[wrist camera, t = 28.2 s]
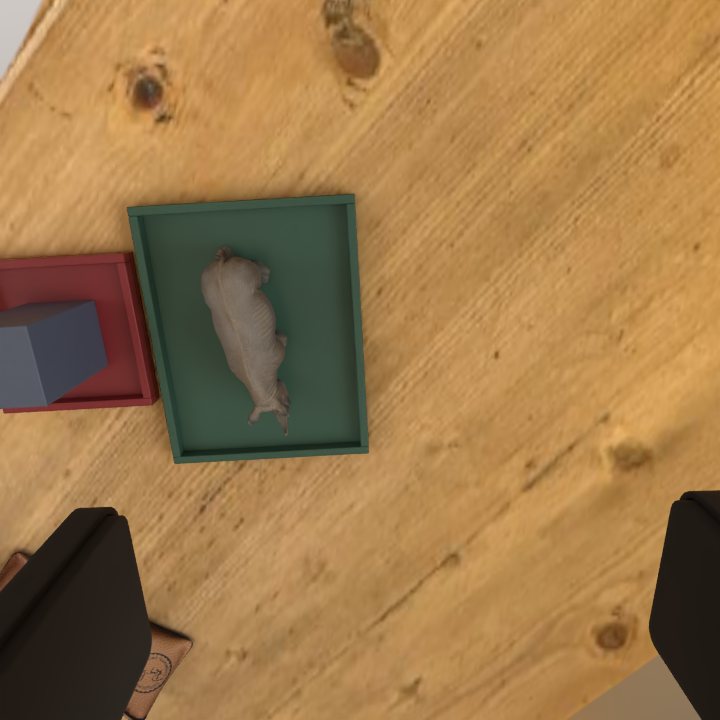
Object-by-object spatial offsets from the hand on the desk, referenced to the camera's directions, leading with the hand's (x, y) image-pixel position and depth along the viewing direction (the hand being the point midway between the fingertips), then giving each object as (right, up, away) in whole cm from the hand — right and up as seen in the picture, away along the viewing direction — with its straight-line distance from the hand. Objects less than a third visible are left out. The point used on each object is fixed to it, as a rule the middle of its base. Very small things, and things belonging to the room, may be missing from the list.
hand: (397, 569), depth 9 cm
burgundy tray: (-22, +6, +29) cm, 37 cm away
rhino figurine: (-8, +5, +29) cm, 30 cm away
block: (-22, +5, +28) cm, 36 cm away
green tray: (-8, +6, +29) cm, 31 cm away
